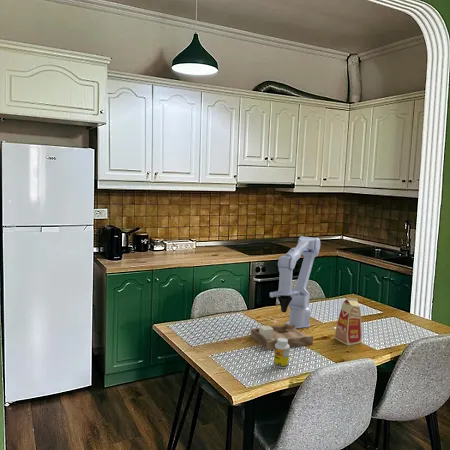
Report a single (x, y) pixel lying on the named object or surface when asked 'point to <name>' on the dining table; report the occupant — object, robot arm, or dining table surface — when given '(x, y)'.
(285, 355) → the supplement bottle
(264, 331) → the block
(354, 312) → the milk carton
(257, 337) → the tray
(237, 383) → the dining table surface
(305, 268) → the robot arm
